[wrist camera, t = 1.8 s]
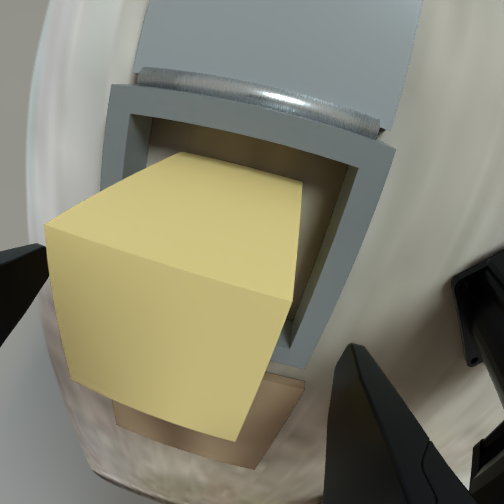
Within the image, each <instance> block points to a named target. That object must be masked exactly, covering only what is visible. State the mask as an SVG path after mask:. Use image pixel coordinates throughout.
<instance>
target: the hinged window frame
mask: <svg viewBox="0 0 504 504" xmlns="http://www.w3.org/2000/svg"><path fill="white" fill-rule="evenodd" d="M422 1H423V0H150V1H149V4H148V8H147V12H146V15H145V19H144V23H143V27H142V31H141V36H140V40H139V44H138V49H137V53H136V58H135V63H134V68H133V73H139V74H138V78H137V85H136V84H112V85H111V91H110V97H109V104H108V111H107V119H106V127H105V136H104V145H103V156H102V169H101V185H100V192H101V191H102V190H104V189H106V188H108V187H110V186H112V185H114V184H116V183H117V182H119V181H121V180H123V179H125V178H127V177H129V176H131V175H133V174H135V173H137V172H139V171H141V170H143V169H145V168H146V162H147V154H148V147H149V140H150V133H151V127H152V121H153V117H156V118H162V119H168V120H174V121H179V122H185V123H190V124H195V125H200V126H205V127H210V128H215V129H219V130H224V131H228V132H233V133H237V134H241V135H246V136H250V137H254V138H258V139H262V140H266V141H270V142H274V143H277V144H281V145H285V146H288V147H292V148H296V149H299V150H303V151H306V152H310V153H313V154H316V155H320V156H323V157H326V158H329V159H333V160H336V161H339V162H342V163H345V164H348V169H347V172H346V175H345V178H344V181H343V184H342V187H341V190H340V193H339V196H338V199H337V202H336V205H335V208H334V211H333V214H332V217H331V220H330V223H329V226H328V228H327V231H326V234H325V237H324V240H323V243H322V245H321V248H320V251H319V254H318V256H317V259H316V262H315V265H314V267H313V270H312V273H311V275H310V278H309V281H308V283H307V286H306V289H305V291H304V294H303V296H302V299H301V301H300V304H299V307H298V309H297V312H296V314H295V317H294V319H293V321H291V320H288V319H286V320H285V323H284V325H283V328H282V330H281V333H280V335H279V338H278V341H277V343H276V346H275V348H274V351H273V353H272V356H271V358H270V361H273V362H277V363H281V364H285V365H289V366H293V367H297V368H301V369H305V367H306V365H307V363H308V361H309V359H310V357H311V355H312V353H313V351H314V349H315V347H316V345H317V343H318V341H319V339H320V337H321V335H322V333H323V331H324V329H325V327H326V324H327V322H328V320H329V318H330V316H331V314H332V312H333V309H334V307H335V305H336V303H337V301H338V298H339V296H340V294H341V292H342V290H343V287H344V285H345V283H346V280H347V278H348V276H349V273H350V271H351V269H352V266H353V264H354V262H355V259H356V257H357V254H358V252H359V250H360V247H361V245H362V242H363V240H364V237H365V235H366V232H367V230H368V227H369V224H370V222H371V219H372V217H373V214H374V211H375V209H376V206H377V203H378V201H379V198H380V195H381V192H382V190H383V187H384V184H385V181H386V178H387V175H388V172H389V170H390V167H391V164H392V161H393V158H394V155H395V151H396V149H394V148H393V147H391V146H389V145H388V144H386V143H384V142H382V141H379V140H377V139H376V138H377V135H378V132H379V128H380V127H381V128H383V129H386V130H389V131H390V130H391V127H392V124H393V120H394V117H395V114H396V110H397V107H398V103H399V100H400V96H401V92H402V89H403V85H404V81H405V77H406V73H407V69H408V65H409V61H410V57H411V53H412V49H413V44H414V40H415V36H416V31H417V26H418V22H419V17H420V12H421V6H422Z"/></svg>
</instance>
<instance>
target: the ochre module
mask: <svg viewBox="0 0 504 504" xmlns="http://www.w3.org/2000/svg"><path fill="white" fill-rule="evenodd" d="M302 185H303V182H301V181H298V180H294V179H291V178H287V177H284V176H280V175H276V174H273V173H269V172H265V171H262V170H258V169H254V168H250V167H246V166H242V165H238V164H234V163H230V162H226V161H222V160H218V159H214V158H209V157H205V156H201V155H196V154H192V153H187V152H183V151H181V152H179V153H177V154H175V155H172V156H170V157H168V158H166V159H164V160H162V161H160V162H157V163H155V164H153V165H151V166H149V167H147V168H145V169H143V170H141V171H139V172H137V173H135V174H133V175H131V176H129V177H127V178H125V179H123V180H121V181H119V182H117V183H116V184H114V185H112V186H110V187H108V188H106V189H104V190H102V191H101V192H99V193H97V194H95V195H93V196H92V197H90V198H88V199H86V200H84V201H83V202H81V203H79V204H77V205H76V206H74V207H72V208H71V209H69V210H67V211H65V212H64V213H62V214H60V215H59V216H57V217H55V218H54V219H52V220H51V221H49V222H47V223H46V224H44V228H45V240H46V251H47V260H48V268H49V276H50V283H51V289H52V296H53V302H54V307H55V313H56V318H57V323H58V328H59V332H60V337H61V341H62V346H63V350H64V354H65V358H66V362H67V366H68V369H69V373H70V377H71V380H73V381H74V382H76V383H78V384H80V385H83V386H85V387H87V388H89V389H91V390H93V391H95V392H97V393H99V394H101V395H104V396H106V397H108V398H110V399H113V400H115V401H117V402H119V403H122V404H124V405H127V406H129V407H131V408H134V409H136V410H139V411H141V412H144V413H147V414H149V415H152V416H154V417H157V418H160V419H163V420H165V421H168V422H171V423H174V424H177V425H180V426H183V427H186V428H189V429H192V430H195V431H198V432H202V433H205V434H208V435H212V436H215V437H219V438H222V439H226V440H230V441H233V442H235V441H236V439H237V437H238V434H239V432H240V430H241V428H242V425H243V423H244V421H245V418H246V416H247V414H248V411H249V409H250V407H251V404H252V402H253V400H254V397H255V395H256V393H257V390H258V388H259V385H260V383H261V380H262V378H263V376H264V373H265V371H266V368H267V366H268V363H269V361H270V358H271V356H272V353H273V351H274V348H275V346H276V343H277V341H278V338H279V335H280V333H281V330H282V328H283V325H284V323H285V320H286V317H287V315H288V312H289V309H290V307H291V304H292V301H293V291H294V281H295V271H296V260H297V249H298V237H299V225H300V213H301V199H302Z"/></svg>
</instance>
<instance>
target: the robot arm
mask: <svg viewBox="0 0 504 504" xmlns="http://www.w3.org/2000/svg"><path fill="white" fill-rule="evenodd" d="M48 277H49V268H48V260H47V251H46V247H45V246H43V245H40V244H38V243H35V244H30V245H26V246H22V247H18V248H13V249H9V250H5V251H1V252H0V347H1V346H2V344H3V343H4V341H5V340H6V338H7V337H8V336H9V334H10V333H11V332H12V330H13V329H14V327H15V326H16V325H17V323H18V322H19V321H20V319H21V318H22V317H23V315H24V314H25V313H26V311H27V309H28V308H29V306H30V305H31V303H32V302H33V300H34V299H35V297H36V295H37V294H38V292H39V291H40V289H41V288H42V286H43V285H44V283H45V282H46V280H47V279H48ZM464 282H465V283H464ZM461 283H464V285H463V286H462V287H459V286H460V284H461ZM451 287H452V292H453V296H454V301H455V305H456V310H457V315H458V320H459V325H460V331H461V336H462V342H463V349H464V355H465V360H466V363H467V365H468V366H469V367H473V366H476V365H478V364H480V363H482V362H484V364H485V366H486V368H487V370H488V372H489V375H490V377H491V379H492V381H493V384H494V386H495V389H496V391H497V393H498V396H499V398H500V401H501V403H502V406H503V408H504V251H502V252H500V253H498V254H496V255H495V256H493V257H491V258H489V259H487V260H485V261H484V262H482V263H480V264H478V265H476V266H474V267H472V268H470V269H468V270H466V271H464V272H462V273H460V274H458V275H457V276H455V277H454V279H453V280H452V283H451ZM429 440H430V439H429V437H428V436H427V434H426V433H425V431H424V430H423V428H422V427H421V425H420V424H419V422H418V421H417V420H416V418H415V417H414V415H413V414H412V412H411V411H410V410H409V408H408V407H407V405H406V404H405V402H404V401H403V400H402V398H401V397H400V395H399V394H398V392H397V391H396V390H395V388H394V387H393V385H392V384H391V383H390V381H389V380H388V378H387V377H386V376H385V374H384V373H383V371H382V370H381V369H380V367H379V366H378V364H377V363H376V362H375V360H374V359H373V357H372V356H371V355H370V353H369V352H368V351H367V349H366V348H365V347H364V346H362V345H358V344H354V343H350V344H348V345H347V347H346V348H345V350H344V352H343V354H342V356H341V357H340V359H339V361H338V362H337V365H336V367H335V371H334V379H333V386H332V393H331V400H330V407H329V414H328V423H327V444H326V463H325V479H324V492H323V504H504V420H503V421H502V422H501V423H500V424H499V425H498V426H497V427H496V428H495V429H494V430H493V431H492V432H491V433H490V434H489V435H488V436H487V437H486V438H485V439H481V440H480V441H479V442H478V443H477V444H476V445H475V446H474V447H473V455H472V468H471V478H470V486H469V491H468V490H467V489H466V487H465V486H464V485H463V484H462V482H461V481H460V480H459V479H458V477H457V476H456V475H455V474H454V472H453V471H452V470H451V468H450V467H449V466H448V464H447V463H446V462H445V460H444V459H443V457H442V456H441V454H440V453H439V452H438V450H437V449H436V447H435V446H434V444H433V443H432V441H429Z"/></svg>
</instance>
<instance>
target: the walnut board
mask: <svg viewBox="0 0 504 504" xmlns="http://www.w3.org/2000/svg"><path fill="white" fill-rule="evenodd" d="M304 390H305V381H300V380H296V379H292V378H287V377H283V376H279V375H275V374H271V373H268V372H265V373H264V376H263V378H262V380H261V383H260V385H259V388H258V390H257V393H256V395H255V397H254V400H253V402H252V404H251V407H250V409H249V411H248V414H247V416H246V418H245V421H244V423H243V425H242V428H241V430H240V432H239V434H238V437H237V439H236V441H235V442H233V441H230V440H226V439H222V438H219V437H215V436H212V435H208V434H205V433H202V432H198V431H195V430H192V429H189V428H186V427H183V426H180V425H177V424H174V423H171V422H168V421H165V420H163V419H160V418H157V417H154V416H152V415H149V414H147V413H144V412H141V411H139V410H136V409H134V408H131V407H129V406H127V405H124V404H122V403H119V402H117V401H115V400H113V399H112V402H113V408H114V413H115V418H116V423H117V425H118V426H120V427H123V428H125V429H127V430H130V431H132V432H135V433H137V434H140V435H142V436H145V437H147V438H150V439H153V440H155V441H158V442H161V443H163V444H166V445H169V446H172V447H175V448H178V449H181V450H184V451H187V452H190V453H193V454H197V455H200V456H203V457H207V458H210V459H214V460H217V461H221V462H225V463H229V464H233V465H237V466H241V467H245V468H249V469H254V470H255V468H256V467H257V465H258V464H259V462H260V461H261V459H262V458H263V456H264V455H265V453H266V452H267V450H268V449H269V447H270V446H271V444H272V442H273V441H274V439H275V438H276V436H277V435H278V433H279V431H280V430H281V428H282V427H283V425H284V423H285V422H286V420H287V419H288V417H289V415H290V414H291V412H292V410H293V409H294V407H295V405H296V404H297V402H298V400H299V398H300V397H301V395H302V393H303V392H304Z"/></svg>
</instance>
